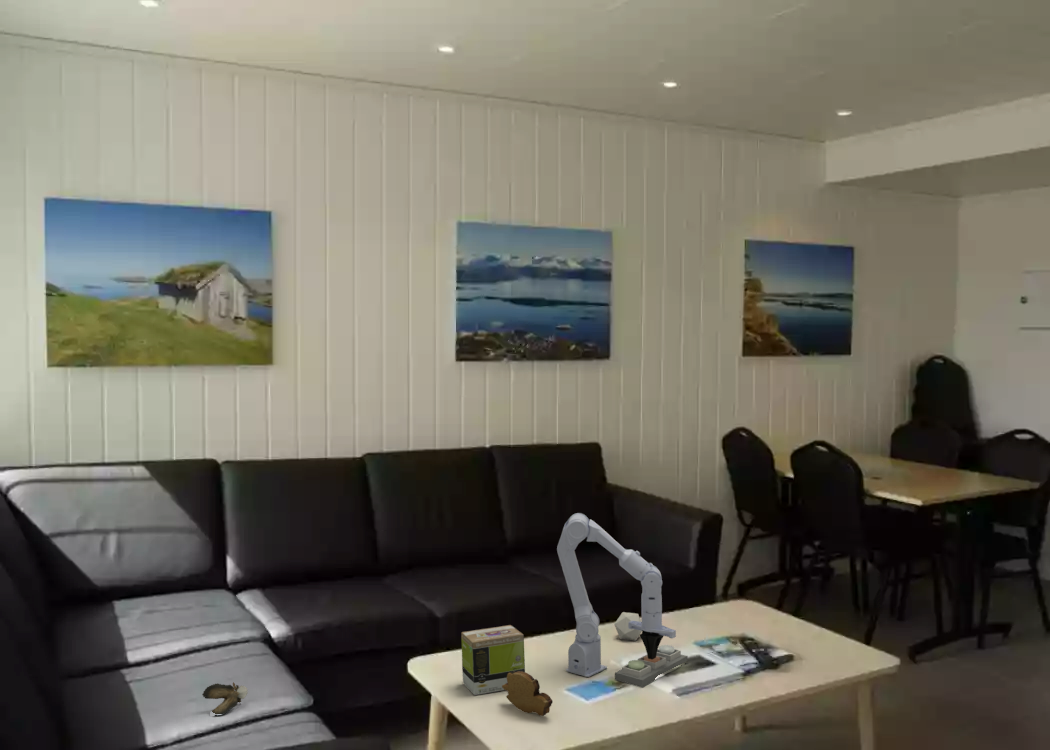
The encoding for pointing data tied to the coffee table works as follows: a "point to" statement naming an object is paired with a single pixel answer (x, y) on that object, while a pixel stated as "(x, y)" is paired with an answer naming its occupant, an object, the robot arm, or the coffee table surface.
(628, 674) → the button panel
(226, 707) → the eagle figurine
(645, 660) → the terracotta button
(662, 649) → the blue-grey button
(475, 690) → the tea box
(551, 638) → the coffee table surface
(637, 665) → the sage button
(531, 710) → the wooden carving
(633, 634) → the die
